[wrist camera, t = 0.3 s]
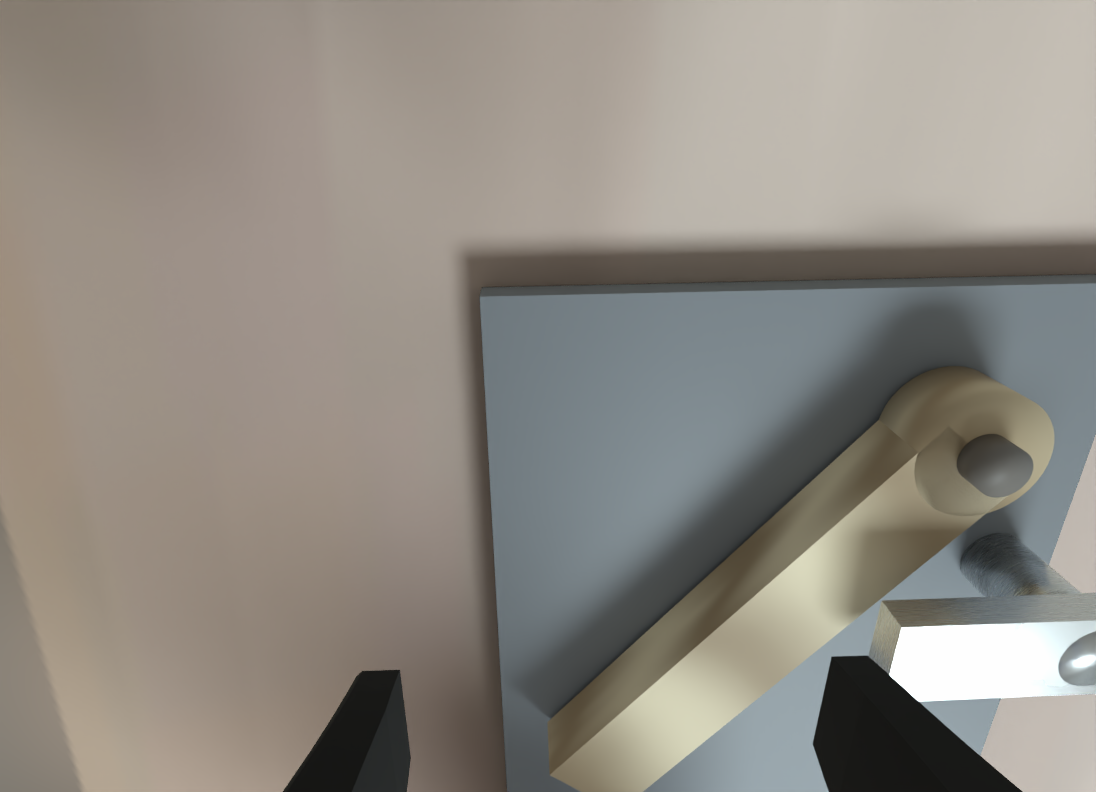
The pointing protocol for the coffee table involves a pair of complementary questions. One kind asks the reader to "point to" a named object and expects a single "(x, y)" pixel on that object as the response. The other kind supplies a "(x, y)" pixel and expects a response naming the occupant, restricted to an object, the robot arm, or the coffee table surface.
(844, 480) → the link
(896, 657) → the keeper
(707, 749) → the board
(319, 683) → the coffee table surface
